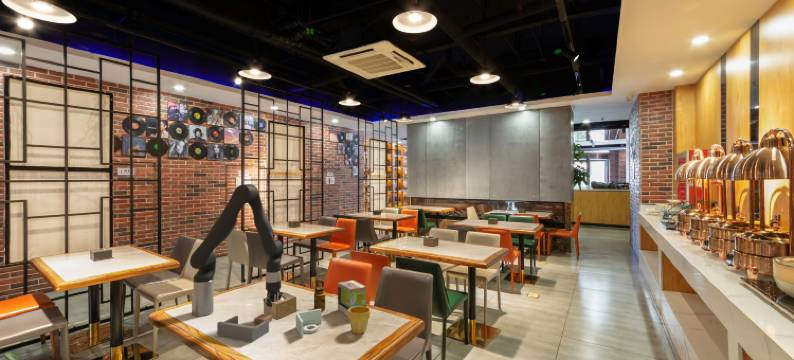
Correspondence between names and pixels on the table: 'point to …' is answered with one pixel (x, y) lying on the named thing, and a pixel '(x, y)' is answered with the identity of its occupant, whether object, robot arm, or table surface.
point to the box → (241, 330)
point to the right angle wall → (308, 321)
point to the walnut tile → (262, 319)
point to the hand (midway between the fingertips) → (273, 313)
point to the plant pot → (358, 318)
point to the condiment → (319, 299)
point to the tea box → (350, 295)
